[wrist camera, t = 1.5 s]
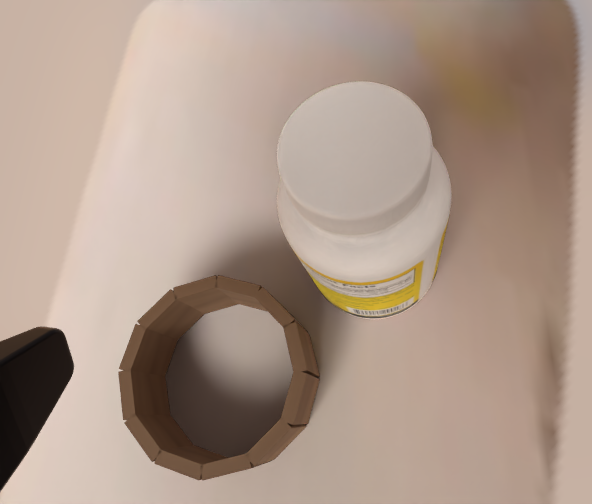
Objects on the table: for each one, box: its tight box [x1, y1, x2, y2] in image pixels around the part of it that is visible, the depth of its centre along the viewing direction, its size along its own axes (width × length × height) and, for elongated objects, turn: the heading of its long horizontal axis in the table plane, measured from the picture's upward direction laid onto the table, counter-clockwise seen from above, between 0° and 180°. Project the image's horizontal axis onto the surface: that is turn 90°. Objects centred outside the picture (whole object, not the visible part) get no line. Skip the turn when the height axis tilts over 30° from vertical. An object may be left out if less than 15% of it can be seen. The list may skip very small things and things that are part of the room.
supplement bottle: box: [277, 81, 452, 319], centre depth 17 cm, size 5×5×10 cm
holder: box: [118, 275, 320, 480], centre depth 19 cm, size 7×7×3 cm
